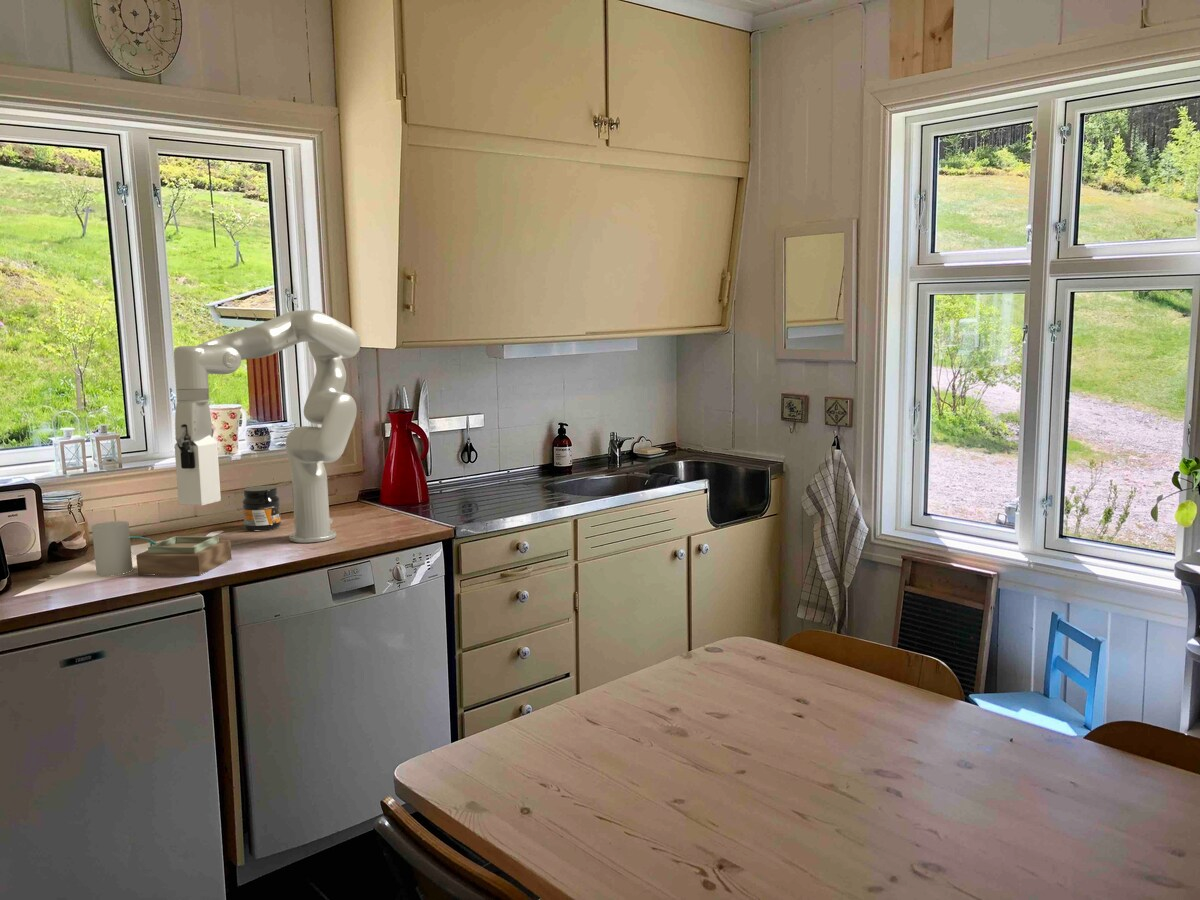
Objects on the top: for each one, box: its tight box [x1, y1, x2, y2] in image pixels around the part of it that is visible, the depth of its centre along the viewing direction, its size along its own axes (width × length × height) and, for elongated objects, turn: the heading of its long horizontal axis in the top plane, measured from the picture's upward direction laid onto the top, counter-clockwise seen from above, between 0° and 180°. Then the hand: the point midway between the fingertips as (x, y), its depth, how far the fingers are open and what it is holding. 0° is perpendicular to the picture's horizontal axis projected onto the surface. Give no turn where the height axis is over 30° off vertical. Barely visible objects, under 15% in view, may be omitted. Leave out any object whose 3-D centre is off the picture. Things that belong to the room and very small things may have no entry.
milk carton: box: [174, 434, 222, 506], centre depth 244 cm, size 7×7×19 cm
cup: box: [91, 520, 134, 577], centre depth 242 cm, size 8×8×12 cm
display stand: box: [135, 535, 233, 576], centre depth 245 cm, size 16×16×6 cm
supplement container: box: [241, 485, 282, 532], centre depth 289 cm, size 10×10×12 cm
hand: (197, 465), depth 244 cm, fingers closed on milk carton, 8 cm apart
